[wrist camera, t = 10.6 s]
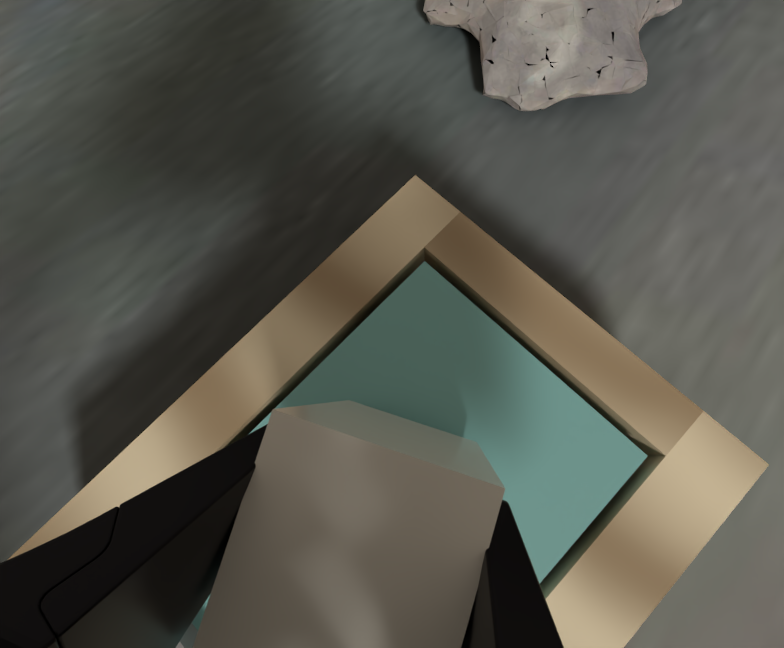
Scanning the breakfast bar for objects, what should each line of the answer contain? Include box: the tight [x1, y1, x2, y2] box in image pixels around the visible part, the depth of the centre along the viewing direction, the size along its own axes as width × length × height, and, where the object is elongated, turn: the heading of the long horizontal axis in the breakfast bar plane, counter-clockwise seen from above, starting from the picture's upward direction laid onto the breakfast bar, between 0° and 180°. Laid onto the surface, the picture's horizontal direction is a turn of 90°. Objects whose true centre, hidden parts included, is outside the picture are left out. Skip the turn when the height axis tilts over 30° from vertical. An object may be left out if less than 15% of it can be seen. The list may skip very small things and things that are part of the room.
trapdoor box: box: [8, 175, 769, 648], centre depth 18 cm, size 23×16×7 cm
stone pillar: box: [193, 400, 505, 648], centre depth 11 cm, size 4×4×7 cm
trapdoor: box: [176, 261, 647, 648], centre depth 15 cm, size 18×10×3 cm, turn 135°
